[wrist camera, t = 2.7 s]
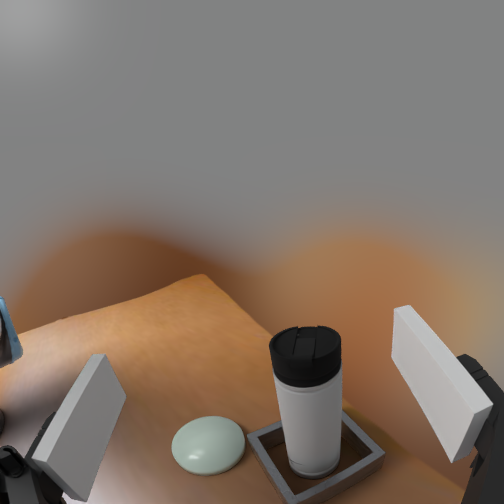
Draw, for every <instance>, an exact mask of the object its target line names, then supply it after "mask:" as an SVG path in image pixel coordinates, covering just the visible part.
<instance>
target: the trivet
mask: <svg viewBox="0 0 504 504" xmlns="http://www.w3.org/2000/svg"><path fill="white" fill-rule="evenodd" d="M245 446H246V443H245V438H244V435H243V432H242V430H241V428H240V427H239V426H238V425H237V424H236V423H235V422H233V421H232V420H230V419H227V418H224V417H219V416H207V417H201V418H198V419H195V420H193V421H191V422H189V423H187V424H186V425H184V426H183V427H182V428H181V429H180V430H179V431H178V432H177V433H176V435H175V436H174V438H173V441H172V453H173V456H174V458H175V459H176V461H177V463H178V464H179V465H180V466H181V467H182V468H183V469H184V470H186V471H187V472H189V473H192V474H195V475H200V476H211V475H216V474H220V473H223V472H225V471H227V470H229V469H231V468H232V467H233V466H235V465H236V464H237V463H238V462H239V461H240V459H241V458H242V456H243V454H244V451H245Z"/></svg>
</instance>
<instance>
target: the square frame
mask: <svg viewBox="0 0 504 504" xmlns="http://www.w3.org/2000/svg"><path fill="white" fill-rule="evenodd" d="M341 436H342V437H343V438H344V439H345V440H346V441H347V442H348V443H349V444H350V445H351V447H352V448H353V449H354V450H355V451H356V452H357V453H358V454H359V455H360V456H361V457H362V458H363V459H362V460H360V461H359V462H357V463H356V464H354V465H352V466H350V467H349V468H347V469H345V470H344V471H342V472H340V473H338V474H336V475H335V476H333V477H331V478H329V479H327V480H325V481H323V482H322V483H320V484H318V485H316V486H314V487H312V488H310V489H308V490H306V491H304V492H302V493H299V494H297V495H294V494H293V492H292V491H291V489H290V488H289V486H288V485H287V483H286V482H285V480H284V479H283V477H282V476H281V474H280V473H279V471H278V470H277V468H276V467H275V465H274V463H273V462H272V460H271V459H270V457H269V455H268V454H267V452H266V451H265V450H266V449H269V448H271V447H273V446H276V445H278V444H280V443H283V442H285V436H284V431H283V425H282V420H281V421H278V422H276V423H274V424H271V425H269V426H267V427H264V428H262V429H259V430H257V431H255V432H252V433H250V434H247V437H248V441H249V444H250V447H251V450H252V451H253V453H254V455H255V457H256V458H257V460H258V462H259V464H260V465H261V467H262V469H263V470H264V472H265V474H266V475H267V477H268V479H269V480H270V482H271V484H272V485H273V487H274V488H275V490H276V492H277V493H278V495H279V496H280V498H281V500H282V501H283V503H284V504H320V503H322V502H324V501H326V500H328V499H330V498H332V497H334V496H335V495H337V494H339V493H341V492H343V491H344V490H346V489H348V488H350V487H351V486H353V485H355V484H356V483H358V482H360V481H361V480H363V479H364V478H366V477H368V476H369V475H371V474H372V473H374V472H375V471H377V470H378V469H380V468H381V467H382V465H383V461H384V457H385V452H384V451H383V450H382V449H381V448H380V447H379V446H378V445H377V444H376V443H375V442H374V441H373V440H372V439H371V438H370V437H369V436H368V435H367V434H366V433H365V432H364V431H363V430H362V429H361V428H360V427H359V426H358V425H357V424H356V423H355V422H354V421H353V420H352V419H351V418H350V417H349V416H348V415H347V414H346V413H345V412H344V411H343V410H342V419H341Z"/></svg>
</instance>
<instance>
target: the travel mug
mask: <svg viewBox="0 0 504 504" xmlns="http://www.w3.org/2000/svg"><path fill="white" fill-rule="evenodd" d="M269 349H270V355H271V360H272V366H273V375H274V381H275V386H276V392H277V397H278V403H279V409H280V414H281V420H282V425H283V431H284V436H285V442H286V448H287V453H288V459H289V464H290V467H291V469H292V471H293V472H294V473H295V474H297V475H298V476H300V477H302V478H306V479H318V478H322V477H325V476H327V475H329V474H330V473H332V472H333V471H334V470H335V469H336V467H337V466H338V464H339V460H340V445H341V419H342V360H341V337H340V335H339V334H338V332H336V331H335V330H333V329H331V328H329V327H326V326H318V327H301V328H298V327H292V328H288V329H285V330H283V331H281V332H279V333H278V334H276V335H275V336H274V337H273V338H272V339H271V341H270V343H269Z"/></svg>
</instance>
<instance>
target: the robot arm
mask: <svg viewBox="0 0 504 504" xmlns="http://www.w3.org/2000/svg"><path fill="white" fill-rule="evenodd" d="M22 355H23V349H22V346H21V344H20V341H19V339H18V336H17V334H16V331H15V329H14V326H13V323H12V321H11V318H10V315H9V312H8V310H7V307H6V304H5V301H4V298H3V297H1V296H0V368H2V367H4V366H6V365H8V364H12V363H14V361H16V360H17V359H19V358H21V357H22ZM392 359H393V361H394V363H395V364H396V366H397V368H398V369H399V371H400V373H401V374H402V376H403V378H404V379H405V381H406V383H407V384H408V386H409V387H410V389H411V391H412V393H413V395H414V396H415V398H416V400H417V401H418V403H419V405H420V406H421V408H422V410H423V412H424V414H425V415H426V417H427V419H428V421H429V422H430V424H431V426H432V428H433V430H434V431H435V433H436V435H437V437H438V439H439V440H440V442H441V444H442V446H443V448H444V450H445V451H446V454H447V455H448V457H449V459H450V461H451V463H453V462H455V461H457V460H459V459H461V458H463V457H465V456H468V455H469V454H470V452H471V450H472V448H473V446H475V447H476V449H477V451H478V454H477V455H476V457H475V459H474V460H473V462H472V464H471V466H470V468H472V467H473V469H472V473H471V476H470V479H469V482H468V485H467V489H466V491H465V494H464V497H463V500H462V502H461V504H504V392H503V391H502V390H501V388H500V387H499V386H498V385H497V384H496V382H495V381H494V380H493V379H492V378H491V377H490V376H489V375H488V373H487V372H486V371H485V370H483V367H482V366H481V365H480V364H479V363H478V362H477V361H476V359H474V358H472V357H470V356H468V355H466V354H463V355H461V356H458V357H455V356H454V355H453V354H452V352H451V351H450V350H449V349H448V348H447V346H446V345H445V344H444V343H443V342H442V341H441V339H440V338H439V337H438V336H437V335H436V334H435V333H434V331H433V330H432V329H431V328H430V327H429V326H428V325H427V324H426V322H425V321H424V320H423V319H422V318H421V317H420V316H419V315H418V314H417V313H416V312H415V310H414V309H413V308H412V307H411V306H410V305H406V306H402V307H399V308H395V309H394V327H393V344H392ZM126 397H127V396H126V394H125V392H124V390H123V388H122V387H121V385H120V383H119V381H118V379H117V377H116V375H115V373H114V371H113V369H112V367H111V365H110V363H109V361H108V359H107V356H106V354H92V356H91V357H90V359H89V360H88V362H87V363H86V365H85V367H84V368H83V370H82V371H81V373H80V375H79V376H78V378H77V379H76V381H75V383H74V384H73V386H72V388H71V389H70V391H69V393H68V394H67V396H66V398H65V399H64V401H63V403H62V404H61V406H60V408H59V409H58V411H57V412H54V413H53V414H52V415H51V416H49V417H48V418H47V419H46V421H45V423H44V424H43V426H42V430H40V431H39V433H38V436H37V437H36V438H35V440H34V442H33V444H32V445H31V447H30V449H29V451H28V453H27V454H26V456H25V458H23V457H22V456H21V455H20V454H19V453H18V451H17V450H16V449H15V448H14V447H12V446H9V445H7V446H3V447H1V448H0V504H66V501H65V500H64V498H62V494H63V492H65V493H66V494H67V495H68V496H69V497H70V498H71V499H74V500H78V501H83V502H87V500H88V497H89V494H90V491H91V489H92V486H93V483H94V480H95V477H96V474H97V472H98V469H99V466H100V464H101V461H102V458H103V455H104V453H105V450H106V448H107V445H108V442H109V440H110V437H111V435H112V432H113V429H114V427H115V424H116V422H117V419H118V417H119V414H120V412H121V409H122V407H123V404H124V402H125V400H126ZM3 425H4V416H3V413H2V412H1V410H0V433H1V431H2V429H3Z"/></svg>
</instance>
